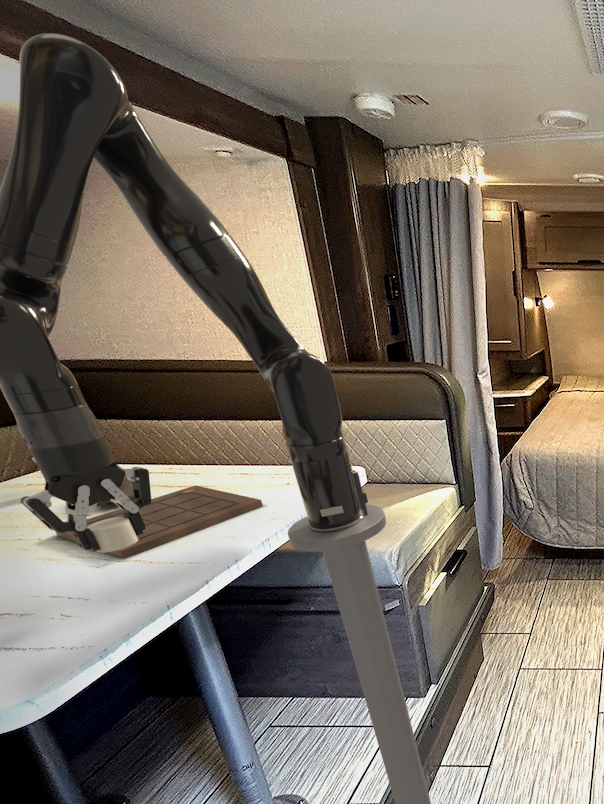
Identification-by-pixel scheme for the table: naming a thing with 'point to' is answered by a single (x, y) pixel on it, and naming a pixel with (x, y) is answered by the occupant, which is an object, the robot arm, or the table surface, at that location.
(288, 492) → the table surface
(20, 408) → the robot arm
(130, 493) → the decorative stone
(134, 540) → the game stone
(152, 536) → the game board
